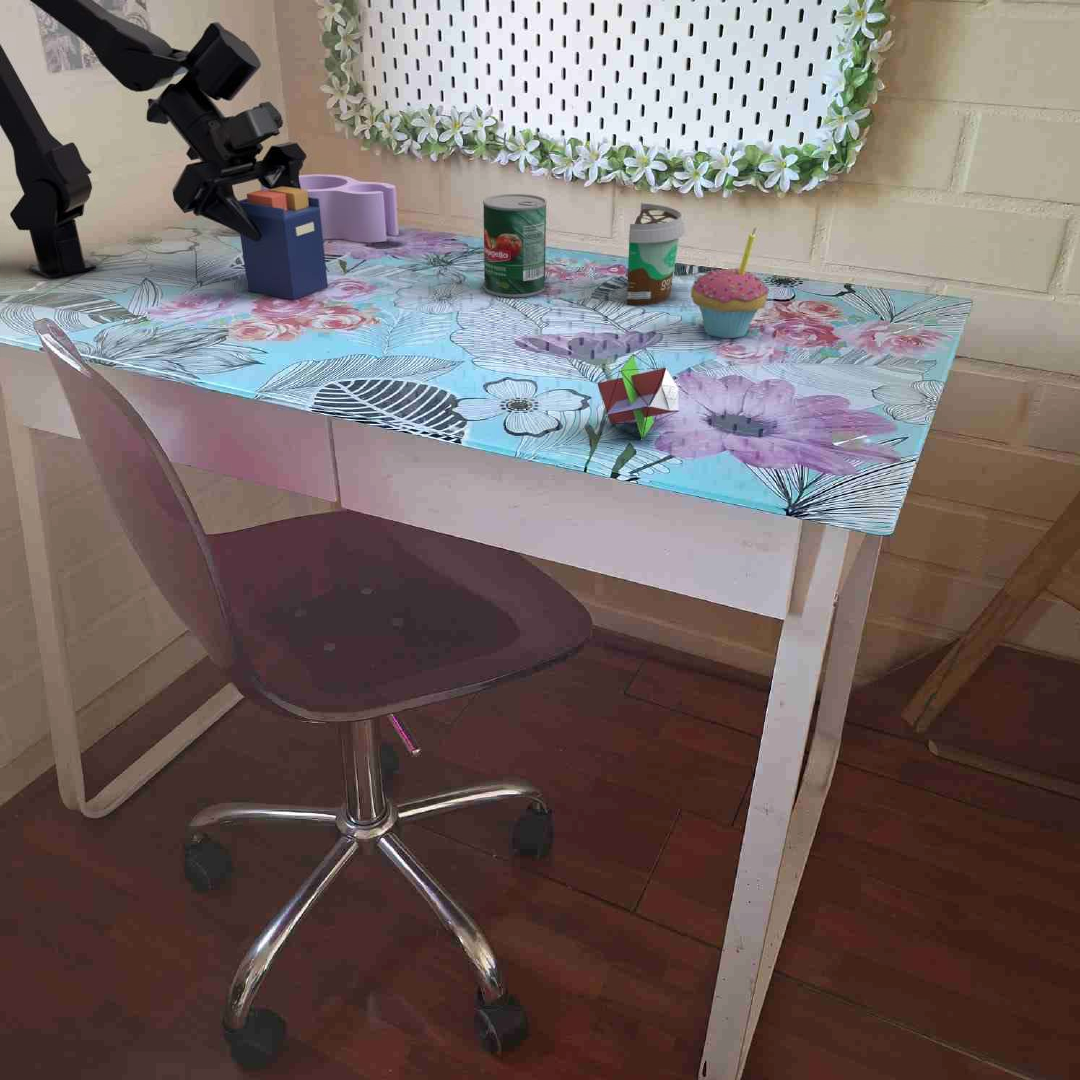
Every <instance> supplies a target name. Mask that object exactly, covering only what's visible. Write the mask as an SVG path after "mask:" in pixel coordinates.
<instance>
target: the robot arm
mask: <svg viewBox="0 0 1080 1080" xmlns="http://www.w3.org/2000/svg"><path fill="white" fill-rule="evenodd" d="M29 1H30V2H31V3H33V4H34V5H35V6H37V7H38V8H39V9H40V10H41V11H43V12H44V13H46V14H47V15H49V16H50V17H51V18H52V19H54V20H55V21H57V22H58V23H59V24H60V25H62V26H63V27H64V28H66V29H67V30H68V31H69V32H71V33H72V34H74V35H75V36H76V37H77V38H79V39H80V40H81V41H83V42H84V43H85V45H87V46H88V47H89V48H90V49H91V50H92V52H93V54H94V55H95V57H96V58H97V60H98V61H99V63H100V64H101V66H102V67H104V68H105V69H106V70H107V71H108V72H109V73H110V75H112V77H114V78H115V79H116V80H117V81H118V82H119V83H120V84H121V85H122V86H123V87H125V88H126V89H127V90H130V91H132V92H136V93H138V92H139V93H141V92H142V93H143V92H148V91H151V90H154V89H157V88H161V87H163V86H166V85H167V84H168V85H167V86H166V87H165V88H164V90H163V91H162V92H161V93H160V95H159V96H158V97H157V98H155V99H154V98H148V99H147V110H146V121H147V122H148V123H153V124H161V125H167V124H168V123H170V124H171V125H172V127H173V128H174V129H175V131H176V132H177V133H178V134H179V136H180V137H181V138H182V139H183V140H184V142H185V143H186V145H188V147H189V148H188V149H187V150H186V152H185V155H186V156H187V157H188V158H189V160H190V161H194V160H199V161H198V162H197V161H196V162H192V163H189V164H186V165H185V167H184V169H183V170H182V172H181V174H180V176H179V177H178V178H177V181H176V182H175V184H174V186H173V187H172V189H171V190H172V197H173V201H174V202H175V204H176V205H177V206H178V208H179V209H180V210H181V211H182V212H183V213H184V214H187V213H190V212H192V214H193V215H194V216H196V217H199V216H201V217H204V218H206V219H208V220H211V221H213V222H214V223H218V224H220V225H222V226H225V228H228V229H231V230H233V231H234V232H236V233H238V234H239V235H240V234H242V235H244V236H246V237H248V238H250V239H252V240H254V241H256V242H257V241H259V240H260V239H261V238H262V235H261V233H260V231H259V230H258V228H257V226H256V225H255V223H254V222H253V220H252V219H251V218H250V216H249V215H248V214H247V212H246V211H245V209H244V208H243V207H242V205H241V204H240V203H239V201H240V200H238V199H237V196H235V192H234V187H233V186H235V185H239V184H244V183H248V182H251V181H255V180H257V181H258V182H259V184H260V183H261V184H262V186H264V187H266V188H268V189H274V188H278V187H281V186H284V187H291V188H297V189H301V186H300V182H299V175H300V171H301V170H302V168H303V166H304V162H305V160H306V159H307V158H308V157H307V154H306V152H305V151H304V150H303V149H302V148H301V146H300V145H299V143H298V142H293V141H288V142H283V143H279V144H274V145H270V148H269V149H268V150H267V152H266V154H265V155H264V157H263V158H262V159H261V160H258V158H257V156H258V155H260V154H261V153H262V151H263V149H264V146H263V144H262V143H263V142H265V141H266V140H268V139H270V138H271V137H277V136H278V135H280V134H281V132H280V130H279V129H281V128H282V127H283V126H284V125H283V124H284V120H283V119H282V114H281V113H280V112H279V110H278V109H277V107H275V106H274V105H273V104H272V103H271V101H264V102H260V103H259V104H258V105H257V106H254V107H252V108H251V109H247V110H243V111H241V112H239V113H237V114H236V115H229V116H225V114H223V112H222V111H221V110H220V108H219V107H218V106H217V105H216V103H215V102H214V101H217V102H218V101H220V100H221V99H222V100H225V101H228V102H231V101H233V99H234V98H236V96H237V95H238V94H239V93H240V91H241V90H242V89H243V88H244V86H245V85H247V83H248V82H249V81H250V80H251V79H252V77H254V75H255V74H256V73H257V72H258V71H259V69H261V66H262V63H261V60H260V59H259V57H258V55H257V54H256V52H255V51H254V50H253V48H252V47H250V45H249V44H248V43H247V42H246V41H245V40H242V39H240V38H239V37H238V36H237V35H235V34H234V33H233V32H231V31H230V30H228V29H226V28H225V27H224V26H223V25H222V24H221V23H220V22H219V21H215V22H210V24H209V25H208V26H207V27H206V28H205V29H204V31H203V34H202V36H201V38H199V40H198V41H197V42H196V44H195V45H194V46H193V47H192V48H191V50H190V51H188V50H185V49H184V50H183V49H179V48H175V47H171V45H170V44H169V43H168V42H167V41H166V40H165V39H163V38H162V37H160V36H158V35H156V34H155V33H153V32H151V31H149V30H148V29H145V28H143V27H142V26H140V25H138V24H135V23H133V22H131V21H129V20H126V19H124V18H121V17H118V16H116V15H115V14H113V13H111V12H110V11H108V10H106V9H105V8H104V7H103V6H101V5H100V4H99V3H98V2H96V1H95V0H29ZM183 74H184V75H183ZM180 75H183V76H182V77H181V79H179V81H177V82H176V83H171V81H172V80H173V79H174V77H177V76H180ZM213 100H214V101H213ZM0 128H1V130H2V132H3V133H4V135H5V137H6V138H7V140H8V142H9V143H10V146H11V148H12V151H13V160H14V166H15V167H14V168H15V175H16V177H17V180H18V183H19V185H20V188H21V190H22V193H23V195H22V196H21V198H20V199H19V201H18V202H17V203H16V205H15V206H14V207H13V209H12V210H11V212H10V213H9V217H11V220H12V221H13V223H14V225H15V226H16V228H17V229H18V231H29V235H30V239H31V241H32V246H33V250H34V254H35V255H34V256H35V258H36V261H37V262H36V263H34V264H29V265H28V266H27V268H28V270H29V271H31V272H33V273H37V274H39V275H41V276H44V277H46V278H48V279H55V278H56V279H57V278H60V277H64V276H70V275H74V274H79V273H83V272H88V271H92V270H96V269H97V268H98V267H97V264H95V263H92V262H90V261H88V260H85V257H84V253H83V249H82V248H83V247H82V243H81V240H80V236H79V231H78V227H77V222H76V219H77V218H79V217H80V218H81V217H82V216H84V211H85V203H87V202H88V201H89V199H90V198H91V195H92V194H91V193H92V190H93V184H92V180H91V178H90V175H91V174H92V170H90V168H89V167H88V166H87V165H86V164H85V162H84V161H83V158H82V157H81V154H80V151H79V149H78V147H77V145H76V144H75V143H74V142H73V141H72V142H69V143H65V144H62V142H60V141H59V140H58V139H57V138H56V137H55V136H53V135H52V134H51V132H50V131H49V129H48V128H47V126H46V124H45V122H44V120H43V118H42V117H41V115H40V113H39V112H38V110H37V108H36V106H35V104H34V102H33V101H32V99H31V96H30V95H29V93H28V92H27V90H26V88H25V86H24V83H23V82H22V81H21V78H20V77H19V75H18V73H17V72H16V69H15V68H14V65H13V64H12V63H11V61H10V58H9V57H8V55H7V53H6V52H5V50H4V48H3V46H2V45H1V43H0Z"/></svg>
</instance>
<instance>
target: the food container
mask: <svg viewBox="0 0 1080 1080" xmlns="http://www.w3.org/2000/svg"><path fill="white" fill-rule="evenodd" d="M685 233H686V231H685V221H684V218H683V217H682V213H681V212H680V211H679V210H677V209H675V208H674V207H669V206H665V205H661V204H653V203H645V202H642V203H641V202H640V213H639V215H638V216H637V217H636V219H635V222H634V223H630V224H629V233H628V260H627V262H628V263H627V281H626V282H627V283H626V284H627V285H626V303H625V304H626V306H644V305H645V306H647V305H653V304H659V303H662V302H666V301H667V300H668V299H670V297H671V292H672V286H673V278H674V273H675V266H676V265H675V264H676V260H677V259H676V258H677V254H678V253H677V251H678V245H679V240H680V239H679V238H682V237H683V236H684V235H685Z"/></svg>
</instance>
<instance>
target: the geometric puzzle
mask: <svg viewBox="0 0 1080 1080" xmlns="http://www.w3.org/2000/svg"><path fill="white" fill-rule="evenodd" d="M636 358H637V359H638V360H640V361H641V362H642V363H644V364H645V365H647V366H648V367H650V368H648V370H649V371H645V372H642V373H640V370H641V371H643V368H638V363H637V361H636ZM644 360H645V361H647V358H644ZM644 360H643V359H642V357H641V356H638V355H636V354H635V353H632V355H630V357H627V358H626V361H623V362H622V363H621V364H619V365H618V366H617V367H616V368H614V369H613V370H612V371H611V372H609V373H608V374H607V375H606V376H604V377H603V378H602V379H601V380H599V381H597V382H596V384H597V387H598V391H599V395H600V398H601V403H602V405H603V410H604V411H603V412H604V415H605V417H606V418H607V420H608V421H609V425H610V426H614V427H615V428H618V429H619V430H621V431H623V432H625V430H626V431H627V432H629V435H631V436H634V437H636V438H638V439H640V440H641V441H643V440H644V439H645V438H646V436H649V435H650V433H649V431H650V429H651V428H652V426H653V425H654V423H656V422H657V421H660V420H662V419H664V418H666V417H669V416H670V418H672V417H673V415H675V414H677V413H678V412H680V387H679V386H678V384H677V383H676V381H675V379H674V378H673V376H672V375H671V373H670V371H669V370H668V367H667V366H662V365H660V364H658V363H656V362H654V364H655V365H657V366H660V367H652V366H651V365H650V364H648V363H646V362H645V361H644ZM649 362H651V363H652V361H650V360H649ZM624 363H625V364H624ZM623 364H624V365H623ZM621 365H623V366H622V367H621V368H620V369H619V370H618V371H617V372H614V371H615V370H616V369H618V368H619V367H620V366H621ZM613 372H614V373H613ZM611 373H613V374H611ZM617 373H618V375H617V377H616V378H613V379H609V380H607V379H608V378H610V377H612V376H614V375H615V374H617ZM620 375H621V377H619V376H620ZM605 380H606V381H605ZM666 414H667V415H666ZM660 415H665V416H662V417H661V418H658V419H657V417H658V416H660ZM668 420H669V418H667V419H666V420H665V422H667V421H668ZM630 421H633V422H630ZM627 424H628V425H630V424H636V425H637V429H638V431H639V434H640V436H638V435H636V434H635V433H634V432H632V431H630V430H629V429H628V428H626V427H625V426H623V425H627ZM616 425H619V426H621V427H622V428H620V427H618V426H616ZM662 425H664V422H663V423H661V424H660V426H662ZM623 428H624V429H623ZM657 428H659V426H657V427H656V429H657ZM653 431H655V429H653V430H652V431H651V433H653Z"/></svg>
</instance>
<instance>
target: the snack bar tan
mask: <svg viewBox="0 0 1080 1080" xmlns="http://www.w3.org/2000/svg"><path fill="white" fill-rule="evenodd" d="M269 191H270V192H277V193H284V194H286V202H287V209H290V210H299V209H302V208H306V207H309V203H308V193H307V190H304V189H297V188H291V187H284V186H281V187H278V188H274V189H270V190H269Z"/></svg>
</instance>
